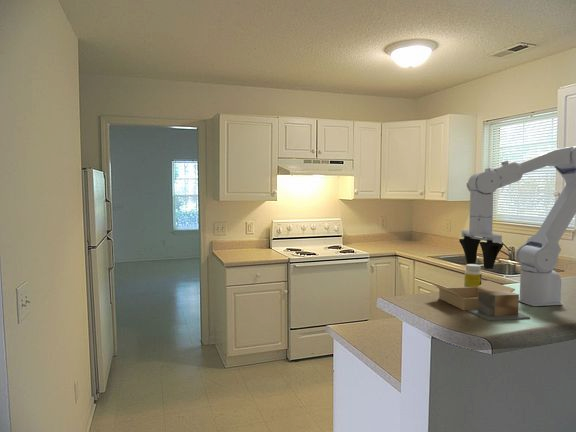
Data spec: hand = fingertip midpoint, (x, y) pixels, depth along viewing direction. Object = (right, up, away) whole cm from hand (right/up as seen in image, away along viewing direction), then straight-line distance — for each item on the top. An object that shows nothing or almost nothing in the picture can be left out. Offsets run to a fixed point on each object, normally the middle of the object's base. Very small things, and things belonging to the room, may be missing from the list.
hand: (479, 266), depth 113 cm
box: (-1, -10, -12) cm, 16 cm away
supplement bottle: (+3, -10, +11) cm, 15 cm away
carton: (-3, -10, -1) cm, 10 cm away
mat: (-1, -11, -12) cm, 16 cm away
